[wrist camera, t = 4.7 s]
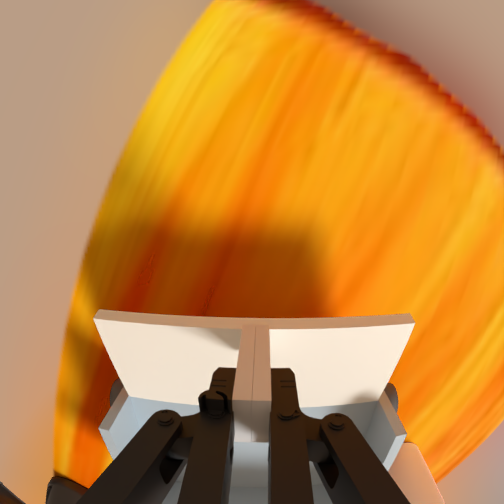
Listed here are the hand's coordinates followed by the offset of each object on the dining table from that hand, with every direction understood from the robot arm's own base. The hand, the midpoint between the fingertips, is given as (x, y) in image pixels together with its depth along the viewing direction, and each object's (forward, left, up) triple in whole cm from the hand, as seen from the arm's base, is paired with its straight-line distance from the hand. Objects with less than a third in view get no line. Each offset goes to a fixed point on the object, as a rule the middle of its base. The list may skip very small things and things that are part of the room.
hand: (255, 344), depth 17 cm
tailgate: (0, -8, -3) cm, 8 cm away
